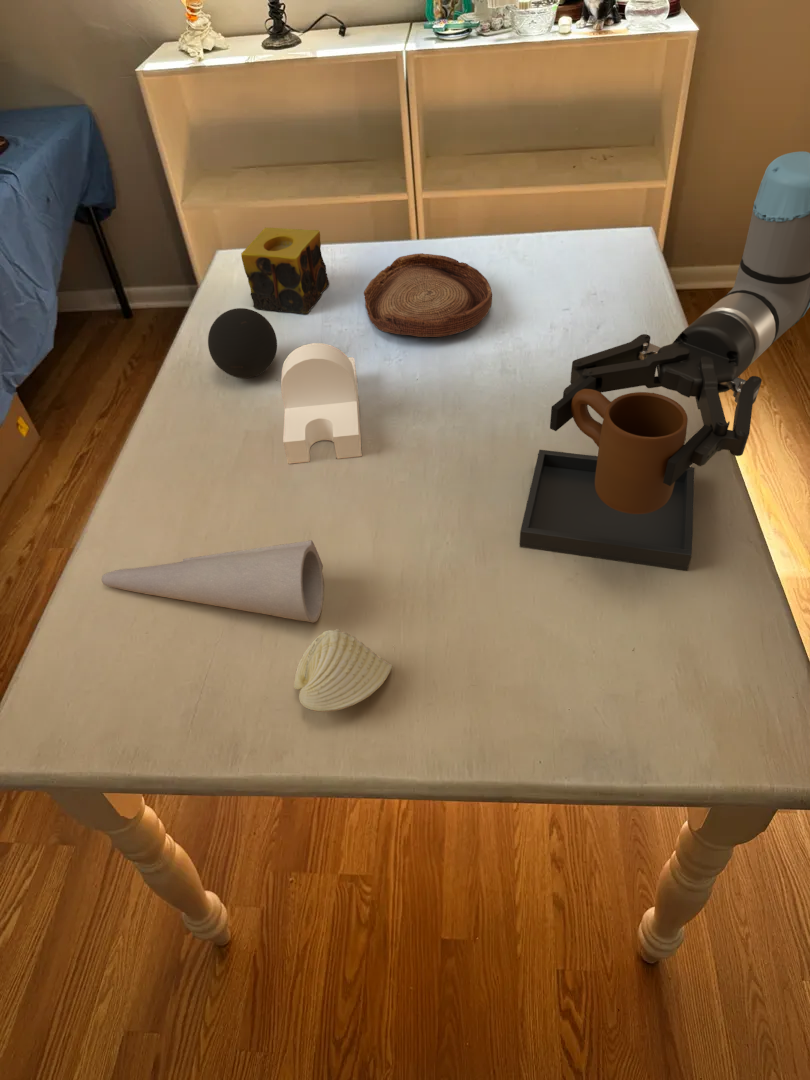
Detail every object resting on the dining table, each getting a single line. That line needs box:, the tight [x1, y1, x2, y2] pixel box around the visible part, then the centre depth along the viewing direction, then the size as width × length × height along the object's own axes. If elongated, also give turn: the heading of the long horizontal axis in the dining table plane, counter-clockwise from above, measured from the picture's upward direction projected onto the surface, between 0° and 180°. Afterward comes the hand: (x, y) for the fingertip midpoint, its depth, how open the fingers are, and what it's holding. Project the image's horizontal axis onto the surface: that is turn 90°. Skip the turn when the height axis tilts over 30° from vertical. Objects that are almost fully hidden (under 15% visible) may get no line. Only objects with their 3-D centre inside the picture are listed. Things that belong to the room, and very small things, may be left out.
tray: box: [519, 449, 695, 572], centre depth 92 cm, size 15×19×3 cm
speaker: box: [207, 307, 278, 379], centre depth 116 cm, size 10×10×10 cm
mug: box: [571, 389, 689, 514], centre depth 76 cm, size 12×8×9 cm, turn 43°
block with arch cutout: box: [280, 342, 363, 465], centre depth 106 cm, size 18×10×11 cm, turn 4°
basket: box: [363, 253, 493, 338], centre depth 126 cm, size 22×20×5 cm
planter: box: [101, 540, 325, 623], centre depth 86 cm, size 8×9×26 cm
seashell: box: [293, 628, 393, 713], centre depth 77 cm, size 8×8×8 cm
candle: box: [240, 227, 330, 315], centre depth 130 cm, size 10×10×10 cm
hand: (608, 445), depth 74 cm, fingers closed on mug, 12 cm apart
